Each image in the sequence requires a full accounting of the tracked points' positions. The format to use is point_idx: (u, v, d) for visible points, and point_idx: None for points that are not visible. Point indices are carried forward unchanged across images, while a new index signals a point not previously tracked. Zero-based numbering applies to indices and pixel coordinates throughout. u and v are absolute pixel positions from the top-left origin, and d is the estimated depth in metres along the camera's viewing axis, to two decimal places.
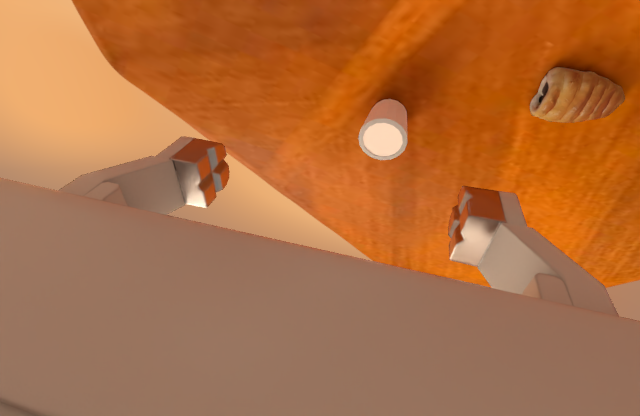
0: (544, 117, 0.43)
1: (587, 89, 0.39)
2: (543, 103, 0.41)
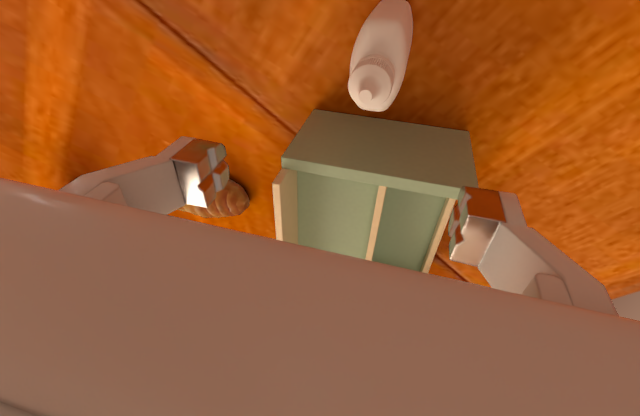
0: None
1: None
2: None
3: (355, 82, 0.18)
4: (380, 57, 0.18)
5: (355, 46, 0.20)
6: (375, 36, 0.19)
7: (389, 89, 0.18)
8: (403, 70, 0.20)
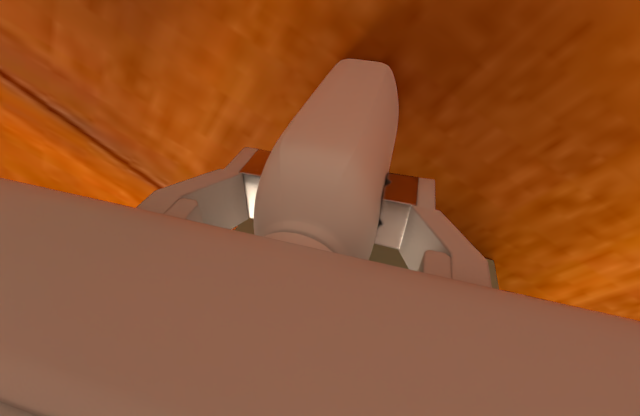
0: None
1: None
2: None
3: None
4: None
5: (256, 196, 0.08)
6: (293, 189, 0.08)
7: None
8: (368, 249, 0.09)
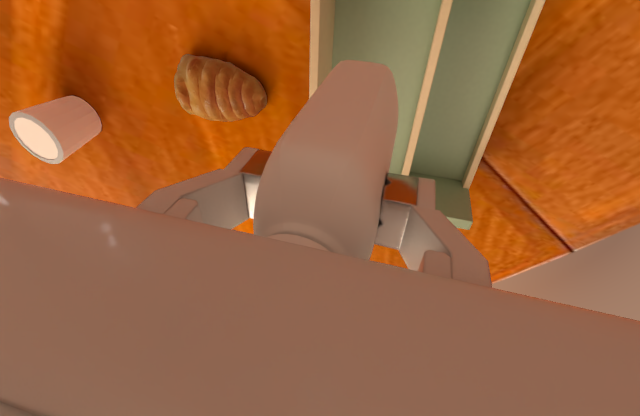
0: (197, 114, 0.36)
1: (206, 78, 0.32)
2: (176, 96, 0.34)
3: None
4: None
5: (256, 197, 0.08)
6: (293, 191, 0.08)
7: None
8: (368, 250, 0.09)
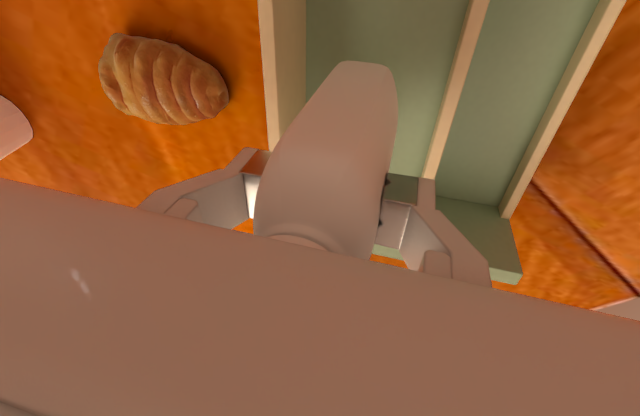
0: (137, 115, 0.27)
1: (140, 66, 0.23)
2: (104, 90, 0.25)
3: None
4: None
5: (256, 198, 0.08)
6: (292, 192, 0.08)
7: None
8: (368, 251, 0.09)
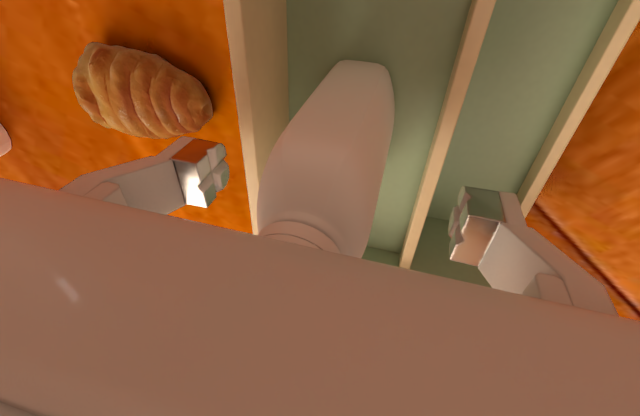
0: (116, 128, 0.26)
1: (116, 78, 0.22)
2: None
3: None
4: (301, 240, 0.08)
5: (259, 188, 0.09)
6: (294, 181, 0.08)
7: None
8: (364, 238, 0.09)
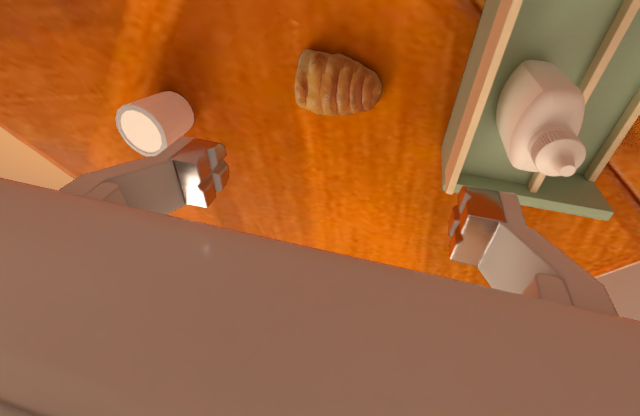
0: (308, 108, 0.37)
1: (331, 72, 0.33)
2: (294, 89, 0.35)
3: (548, 154, 0.18)
4: (568, 129, 0.19)
5: (530, 114, 0.20)
6: (558, 107, 0.19)
7: (582, 161, 0.18)
8: None
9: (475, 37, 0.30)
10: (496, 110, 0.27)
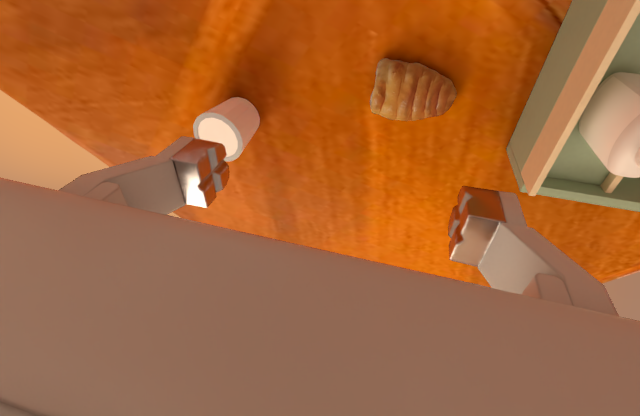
0: (382, 114, 0.39)
1: (411, 81, 0.35)
2: (372, 96, 0.37)
3: None
4: None
5: (638, 127, 0.22)
6: None
7: None
8: None
9: (553, 47, 0.32)
10: (581, 118, 0.29)
